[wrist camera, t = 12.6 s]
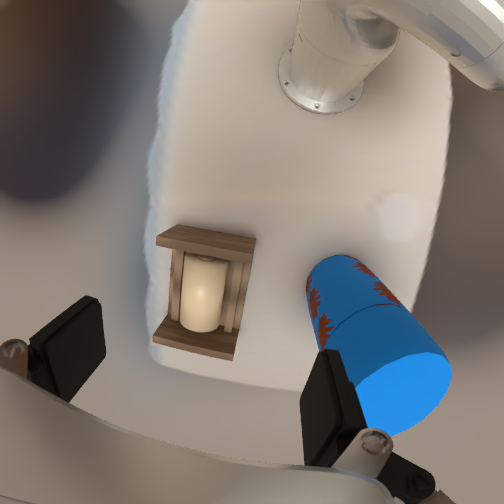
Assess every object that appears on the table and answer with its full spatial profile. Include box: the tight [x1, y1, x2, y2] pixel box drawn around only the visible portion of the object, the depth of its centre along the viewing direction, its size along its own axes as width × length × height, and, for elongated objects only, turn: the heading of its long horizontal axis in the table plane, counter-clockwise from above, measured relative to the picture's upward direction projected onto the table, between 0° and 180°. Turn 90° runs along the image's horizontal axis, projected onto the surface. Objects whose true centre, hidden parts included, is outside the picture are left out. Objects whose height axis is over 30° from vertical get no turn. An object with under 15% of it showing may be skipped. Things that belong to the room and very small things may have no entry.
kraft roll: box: [180, 252, 228, 332], centre depth 38 cm, size 11×6×6 cm, turn 170°
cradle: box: [153, 225, 256, 361], centre depth 38 cm, size 16×12×8 cm
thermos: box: [306, 255, 451, 436], centre depth 29 cm, size 11×11×25 cm
